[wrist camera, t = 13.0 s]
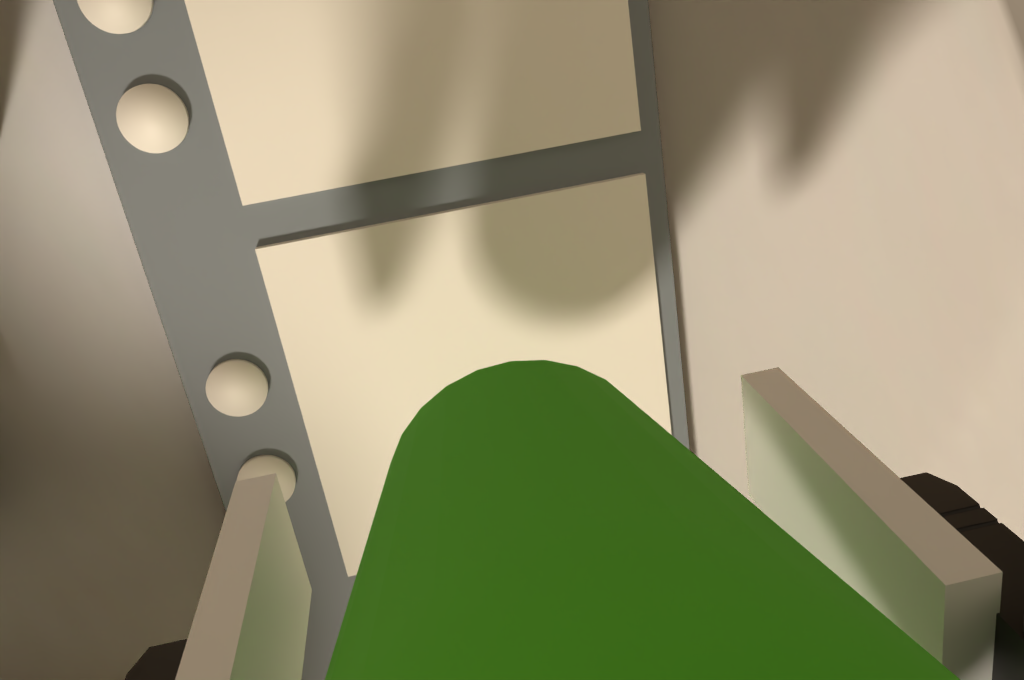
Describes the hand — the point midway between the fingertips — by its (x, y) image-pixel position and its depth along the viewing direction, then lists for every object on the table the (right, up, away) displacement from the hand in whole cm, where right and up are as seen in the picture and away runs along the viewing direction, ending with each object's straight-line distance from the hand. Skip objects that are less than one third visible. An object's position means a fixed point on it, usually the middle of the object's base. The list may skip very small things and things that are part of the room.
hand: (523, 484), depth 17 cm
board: (-2, +2, +5) cm, 6 cm away
